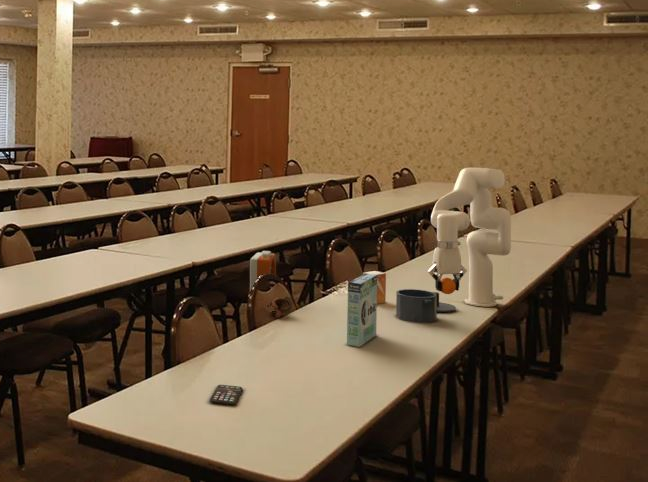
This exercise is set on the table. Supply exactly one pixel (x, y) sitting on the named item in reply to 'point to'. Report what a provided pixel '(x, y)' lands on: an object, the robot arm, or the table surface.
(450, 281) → the ball
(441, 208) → the robot arm
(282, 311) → the orange grey twisted loop
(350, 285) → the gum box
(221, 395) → the black calculator
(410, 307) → the pot
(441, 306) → the lid
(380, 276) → the small box
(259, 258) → the alarm clock
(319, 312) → the table surface
